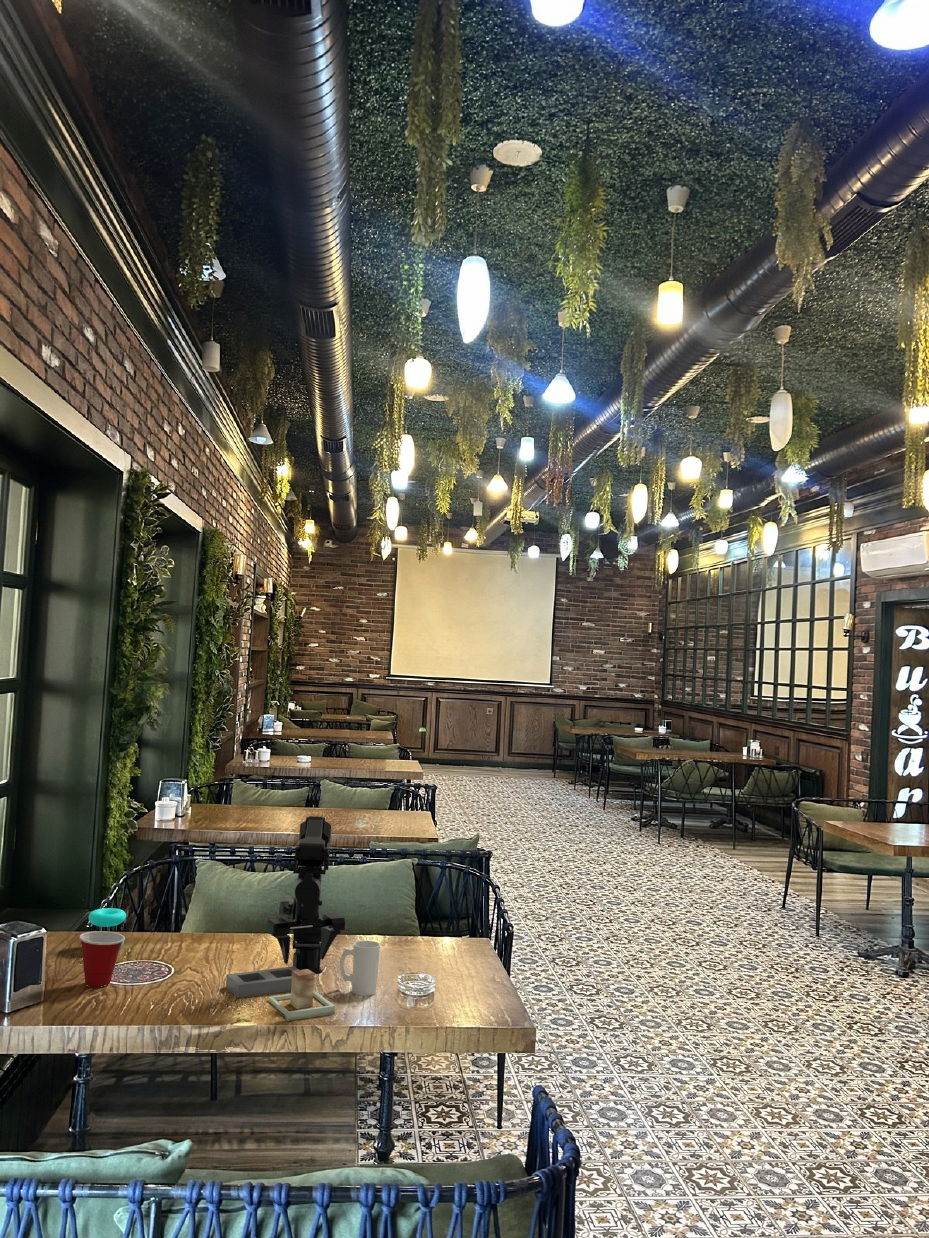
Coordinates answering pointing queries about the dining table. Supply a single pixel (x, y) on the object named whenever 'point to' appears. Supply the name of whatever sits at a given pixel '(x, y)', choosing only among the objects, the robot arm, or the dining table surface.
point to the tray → (304, 1012)
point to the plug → (302, 988)
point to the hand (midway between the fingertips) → (304, 961)
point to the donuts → (107, 917)
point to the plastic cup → (100, 956)
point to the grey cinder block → (260, 982)
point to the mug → (362, 967)
